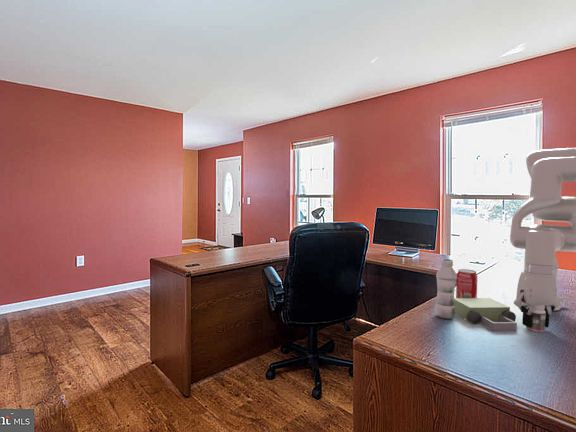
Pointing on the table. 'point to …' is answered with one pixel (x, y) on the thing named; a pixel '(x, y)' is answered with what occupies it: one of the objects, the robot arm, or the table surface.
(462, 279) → the soda can
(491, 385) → the table surface
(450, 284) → the metal bottle
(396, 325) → the table surface
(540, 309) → the pill bottle
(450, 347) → the table surface
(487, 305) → the cart
